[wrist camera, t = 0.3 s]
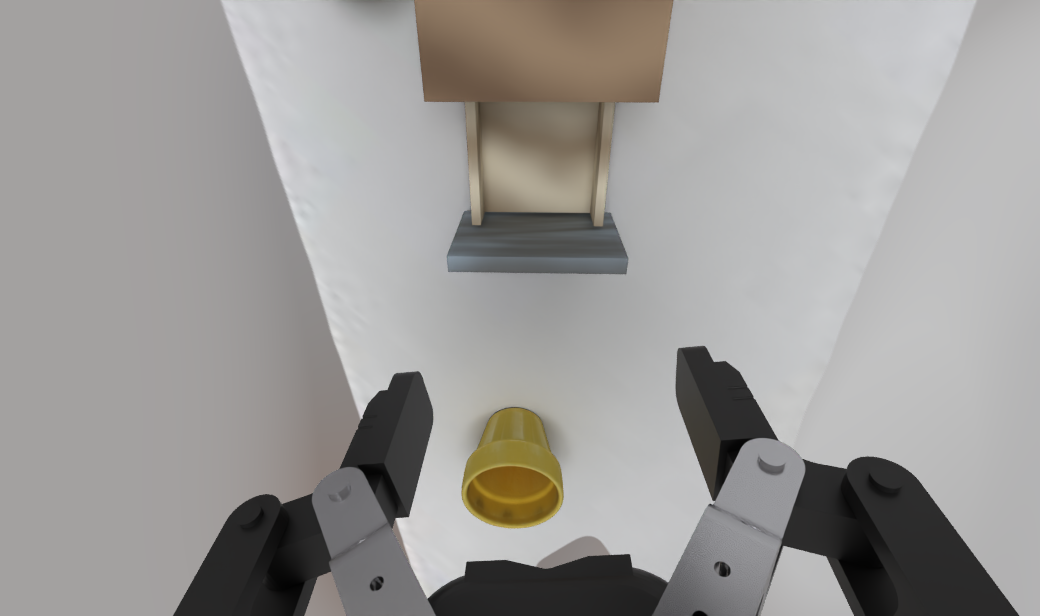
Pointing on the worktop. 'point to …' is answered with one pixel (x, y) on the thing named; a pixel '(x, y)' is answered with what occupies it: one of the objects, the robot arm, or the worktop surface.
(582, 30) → the housing
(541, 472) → the plant pot
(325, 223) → the worktop surface
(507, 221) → the drawer
